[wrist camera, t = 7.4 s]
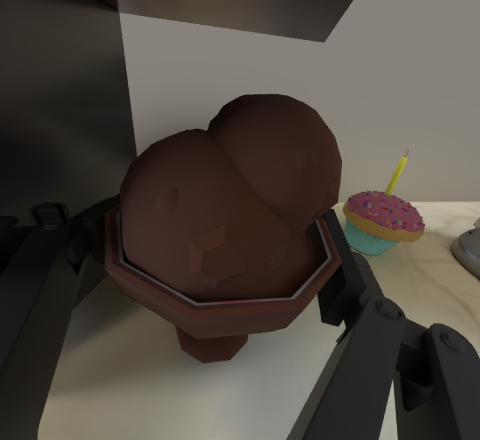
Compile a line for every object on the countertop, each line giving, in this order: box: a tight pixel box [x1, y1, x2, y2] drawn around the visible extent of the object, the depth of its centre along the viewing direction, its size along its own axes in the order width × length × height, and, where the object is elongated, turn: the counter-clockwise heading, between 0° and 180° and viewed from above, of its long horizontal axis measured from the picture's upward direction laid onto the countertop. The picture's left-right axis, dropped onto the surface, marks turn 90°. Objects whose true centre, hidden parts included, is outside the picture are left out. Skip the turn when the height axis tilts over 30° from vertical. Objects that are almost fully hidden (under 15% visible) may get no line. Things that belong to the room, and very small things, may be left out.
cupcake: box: [343, 150, 425, 255], centre depth 24 cm, size 9×8×12 cm
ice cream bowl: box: [105, 94, 342, 363], centre depth 11 cm, size 11×11×15 cm
